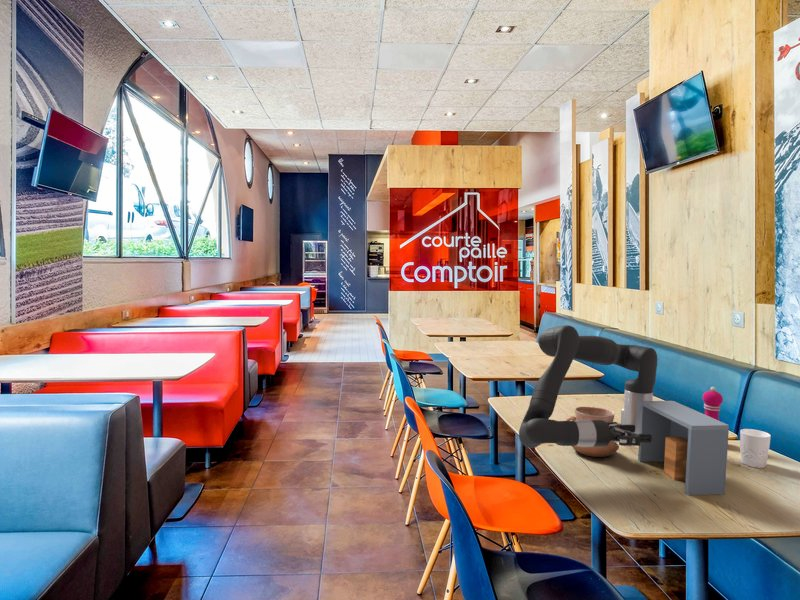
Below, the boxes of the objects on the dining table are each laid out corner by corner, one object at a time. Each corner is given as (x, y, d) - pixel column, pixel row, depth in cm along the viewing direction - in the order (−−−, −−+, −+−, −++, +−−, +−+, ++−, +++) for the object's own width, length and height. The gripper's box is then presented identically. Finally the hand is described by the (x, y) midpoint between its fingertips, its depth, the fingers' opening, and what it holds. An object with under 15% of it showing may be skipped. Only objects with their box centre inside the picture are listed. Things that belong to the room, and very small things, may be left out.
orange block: (674, 479, 149) (676, 442, 148) (663, 472, 154) (665, 436, 153) (690, 479, 149) (692, 442, 148) (679, 472, 154) (681, 436, 153)
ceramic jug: (625, 452, 170) (626, 409, 169) (615, 465, 158) (616, 420, 157) (571, 441, 180) (571, 401, 180) (557, 453, 169) (558, 410, 168)
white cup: (765, 461, 163) (767, 431, 163) (771, 470, 156) (773, 438, 155) (736, 457, 167) (738, 427, 166) (740, 466, 159) (742, 434, 159)
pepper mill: (725, 447, 176) (729, 389, 174) (702, 445, 177) (706, 388, 176) (717, 440, 183) (720, 385, 181) (695, 438, 184) (698, 383, 183)
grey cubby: (687, 495, 139) (691, 425, 137) (638, 460, 163) (640, 401, 162) (724, 493, 140) (729, 425, 138) (669, 459, 164) (673, 400, 163)
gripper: (601, 428, 140) (657, 428, 142) (579, 413, 155) (630, 413, 156) (600, 455, 141) (656, 454, 142) (577, 437, 155) (628, 437, 157)
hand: (642, 433), depth 149 cm, fingers open, 8 cm apart
